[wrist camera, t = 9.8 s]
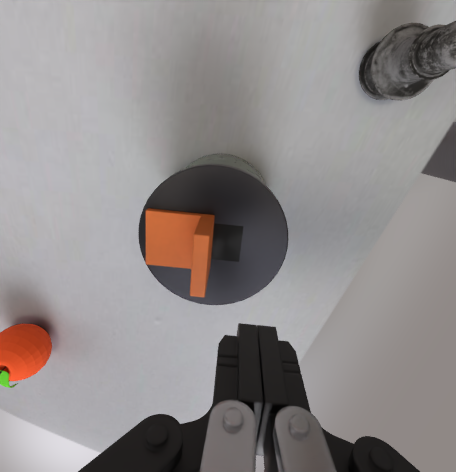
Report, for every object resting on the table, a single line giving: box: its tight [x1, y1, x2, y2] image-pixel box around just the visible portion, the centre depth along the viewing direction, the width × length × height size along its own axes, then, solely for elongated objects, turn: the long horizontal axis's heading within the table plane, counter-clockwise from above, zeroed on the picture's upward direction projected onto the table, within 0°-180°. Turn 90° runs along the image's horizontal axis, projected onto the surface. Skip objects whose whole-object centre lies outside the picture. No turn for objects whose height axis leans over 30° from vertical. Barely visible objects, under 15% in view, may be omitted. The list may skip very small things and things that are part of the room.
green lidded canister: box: [139, 154, 288, 305], centre depth 28 cm, size 12×12×12 cm
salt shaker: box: [359, 21, 456, 100], centre depth 23 cm, size 6×6×12 cm
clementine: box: [0, 324, 52, 388], centre depth 38 cm, size 8×7×7 cm
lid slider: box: [146, 208, 215, 297], centre depth 21 cm, size 5×4×4 cm
